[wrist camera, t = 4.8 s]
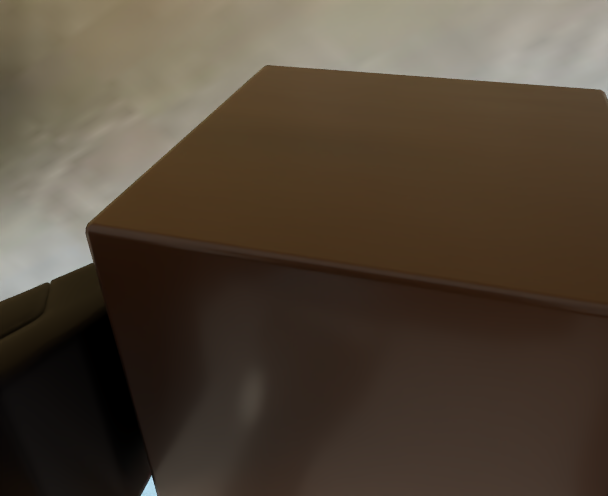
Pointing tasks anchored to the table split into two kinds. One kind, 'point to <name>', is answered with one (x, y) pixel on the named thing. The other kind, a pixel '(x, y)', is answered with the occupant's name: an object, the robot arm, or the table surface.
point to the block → (369, 290)
